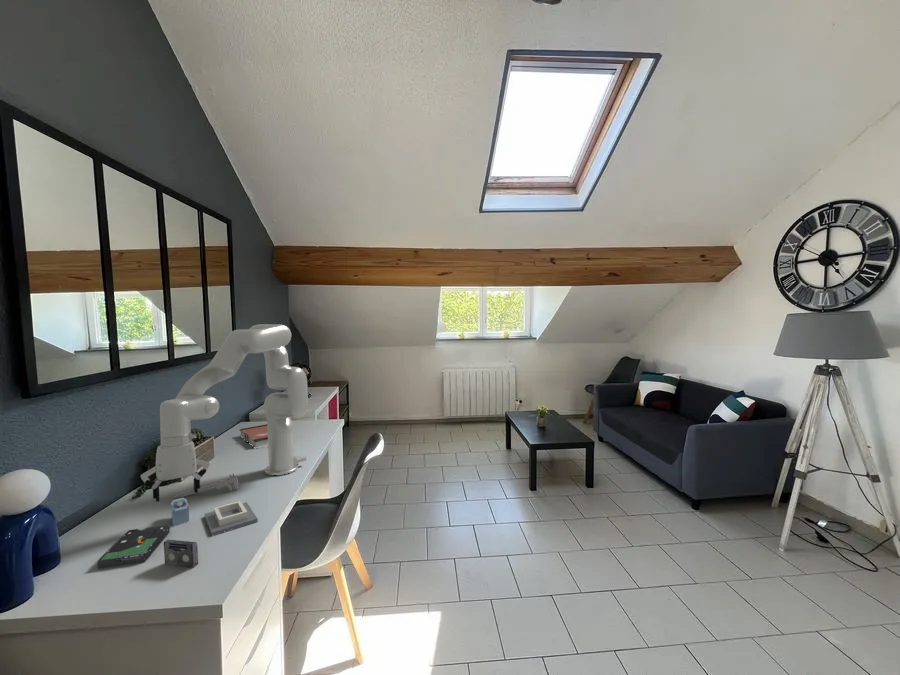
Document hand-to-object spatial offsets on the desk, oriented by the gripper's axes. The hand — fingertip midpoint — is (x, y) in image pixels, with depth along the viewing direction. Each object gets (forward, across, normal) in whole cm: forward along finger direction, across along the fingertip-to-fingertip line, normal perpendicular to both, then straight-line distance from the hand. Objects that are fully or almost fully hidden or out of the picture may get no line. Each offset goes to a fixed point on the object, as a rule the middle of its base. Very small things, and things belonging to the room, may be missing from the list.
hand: (177, 495), depth 120 cm
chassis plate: (+8, -13, +10) cm, 18 cm away
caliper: (+8, -10, -16) cm, 21 cm away
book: (+7, -42, -70) cm, 82 cm away
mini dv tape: (+8, +1, +27) cm, 28 cm away
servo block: (+8, -1, 0) cm, 8 cm away
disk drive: (+9, +10, +11) cm, 17 cm away
